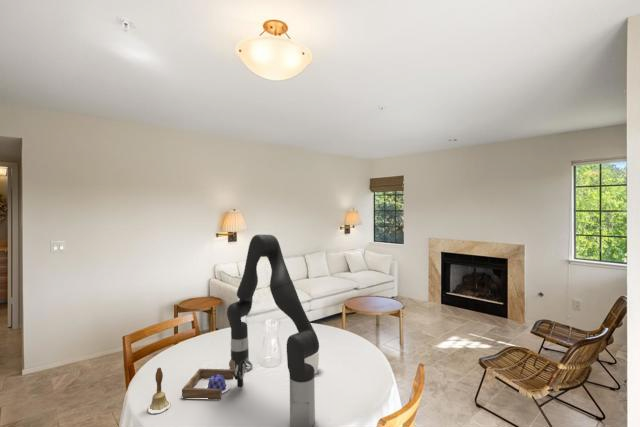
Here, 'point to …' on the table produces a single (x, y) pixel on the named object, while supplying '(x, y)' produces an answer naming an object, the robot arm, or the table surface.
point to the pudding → (218, 383)
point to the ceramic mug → (231, 363)
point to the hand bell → (159, 394)
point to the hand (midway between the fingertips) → (240, 386)
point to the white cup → (313, 361)
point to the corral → (205, 392)
